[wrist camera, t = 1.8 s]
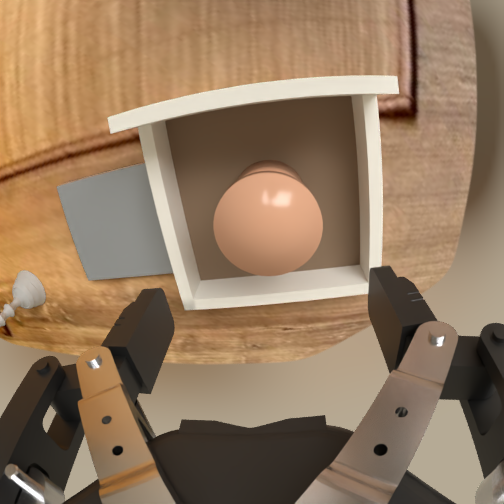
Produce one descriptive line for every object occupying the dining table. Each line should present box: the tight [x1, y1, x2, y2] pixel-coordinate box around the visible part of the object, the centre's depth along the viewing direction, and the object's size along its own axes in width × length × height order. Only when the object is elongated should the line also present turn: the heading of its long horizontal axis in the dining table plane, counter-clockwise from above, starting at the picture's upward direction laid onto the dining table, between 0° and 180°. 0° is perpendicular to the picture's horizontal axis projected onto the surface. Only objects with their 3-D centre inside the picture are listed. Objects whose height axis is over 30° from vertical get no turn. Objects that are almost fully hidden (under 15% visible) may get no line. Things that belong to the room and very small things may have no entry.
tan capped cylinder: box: [213, 160, 323, 276], centre depth 21 cm, size 6×6×7 cm
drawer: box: [107, 76, 399, 310], centre depth 21 cm, size 16×16×8 cm
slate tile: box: [57, 162, 173, 280], centre depth 27 cm, size 10×10×1 cm
